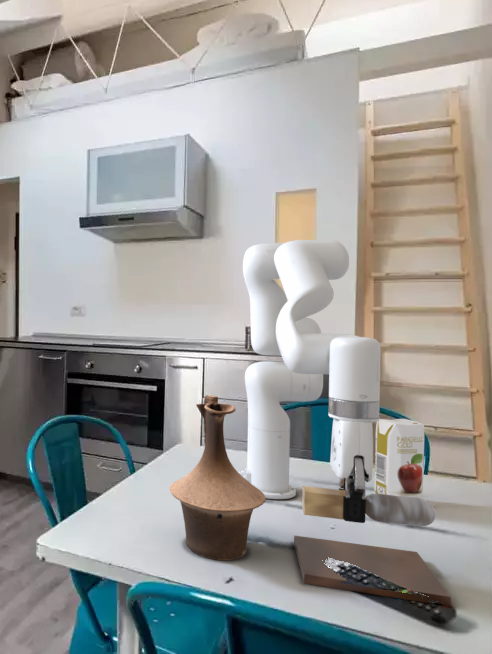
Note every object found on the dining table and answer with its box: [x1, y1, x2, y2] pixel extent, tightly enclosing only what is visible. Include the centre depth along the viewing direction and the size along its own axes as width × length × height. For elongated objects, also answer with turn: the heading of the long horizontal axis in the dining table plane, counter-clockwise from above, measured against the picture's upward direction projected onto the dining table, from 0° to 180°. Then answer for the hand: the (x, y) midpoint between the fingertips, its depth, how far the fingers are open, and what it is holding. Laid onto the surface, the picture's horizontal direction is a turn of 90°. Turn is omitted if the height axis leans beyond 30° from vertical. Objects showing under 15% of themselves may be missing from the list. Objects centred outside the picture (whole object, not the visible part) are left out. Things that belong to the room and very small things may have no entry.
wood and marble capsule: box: [301, 485, 437, 527], centre depth 92 cm, size 20×4×4 cm, turn 71°
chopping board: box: [293, 535, 452, 607], centre depth 92 cm, size 20×16×2 cm
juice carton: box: [373, 418, 425, 499], centre depth 125 cm, size 8×9×19 cm
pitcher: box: [169, 394, 267, 561], centre depth 101 cm, size 18×17×28 cm
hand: (351, 515), depth 92 cm, fingers closed on wood and marble capsule, 3 cm apart
